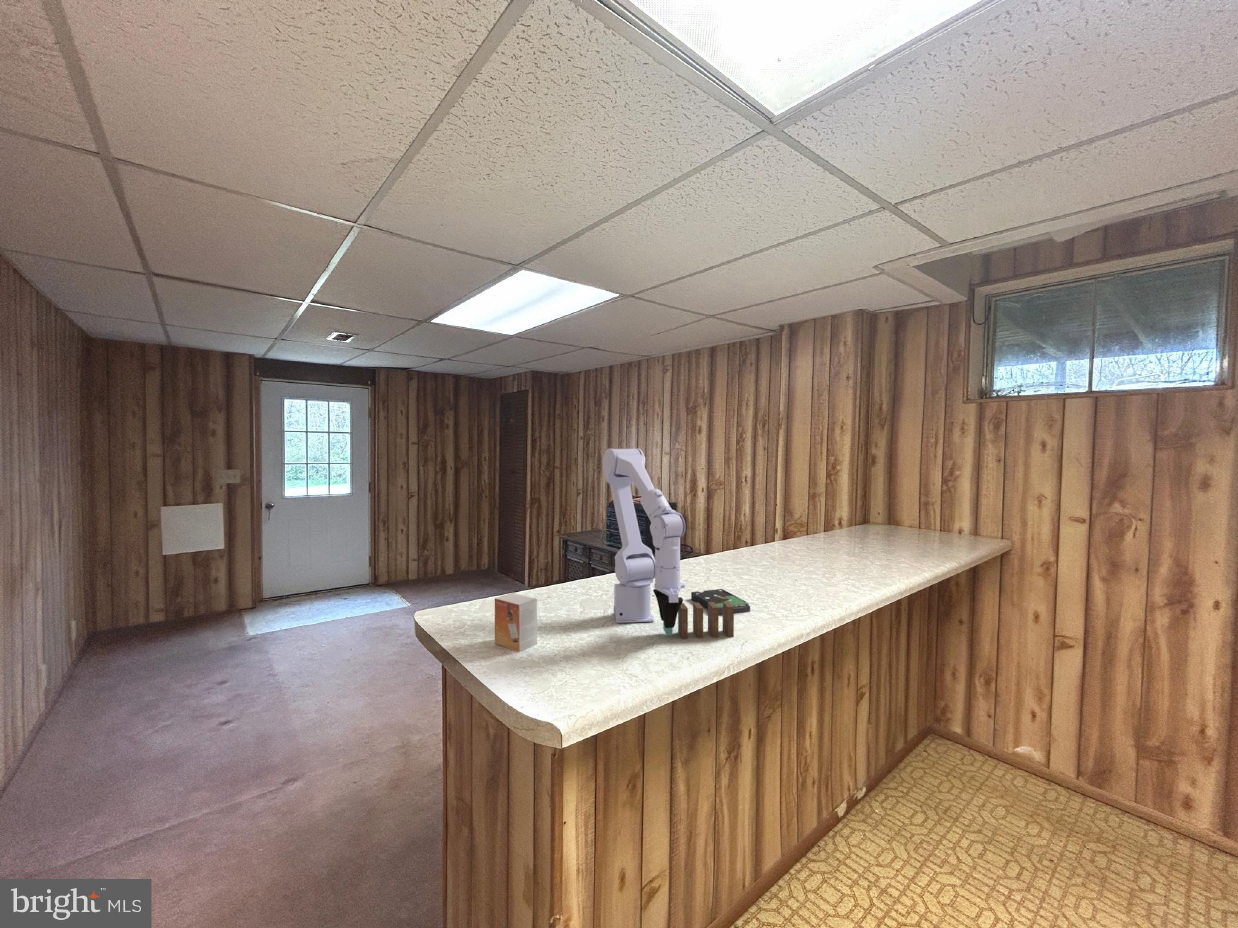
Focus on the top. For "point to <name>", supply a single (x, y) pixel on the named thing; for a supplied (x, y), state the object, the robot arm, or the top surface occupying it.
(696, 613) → the domino
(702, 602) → the disk drive
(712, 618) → the domino
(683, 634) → the domino
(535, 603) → the small box
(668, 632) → the teal domino
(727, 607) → the domino
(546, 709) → the top surface
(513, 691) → the top surface
